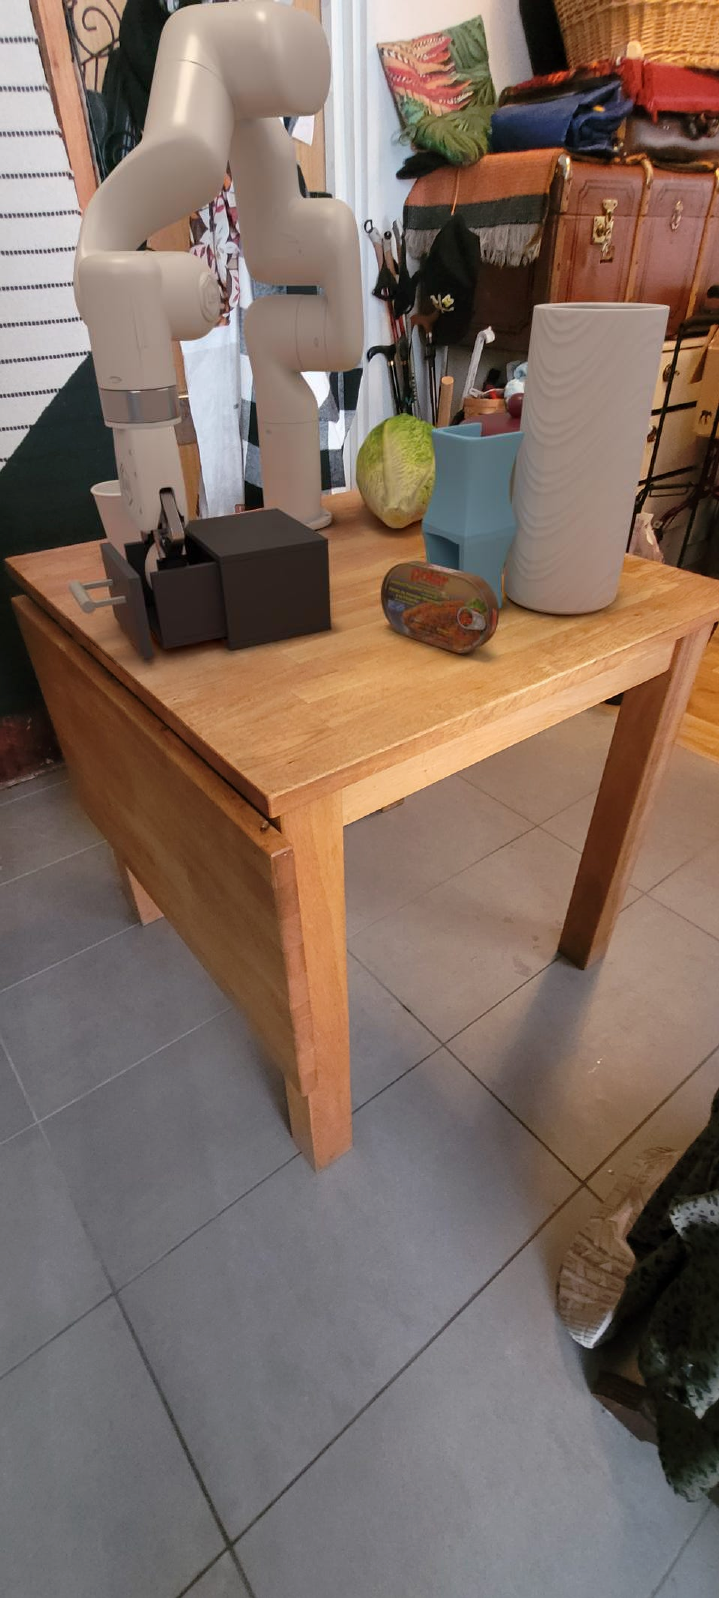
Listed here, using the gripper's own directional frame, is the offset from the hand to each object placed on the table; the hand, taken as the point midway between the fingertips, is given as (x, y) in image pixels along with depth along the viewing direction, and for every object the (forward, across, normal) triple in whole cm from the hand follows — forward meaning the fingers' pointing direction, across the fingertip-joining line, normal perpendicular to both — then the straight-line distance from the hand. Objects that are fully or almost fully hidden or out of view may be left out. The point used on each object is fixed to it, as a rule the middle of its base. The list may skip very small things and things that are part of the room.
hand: (169, 584), depth 86 cm
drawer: (+5, 0, -2) cm, 6 cm away
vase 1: (+6, +8, +35) cm, 36 cm away
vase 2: (+6, +12, +47) cm, 49 cm away
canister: (+6, -6, +52) cm, 52 cm away
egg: (+2, 0, 0) cm, 2 cm away
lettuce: (+6, -30, +48) cm, 57 cm away
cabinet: (+6, 0, +10) cm, 12 cm away
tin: (+6, +16, +26) cm, 31 cm away
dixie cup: (+6, -31, +3) cm, 32 cm away
